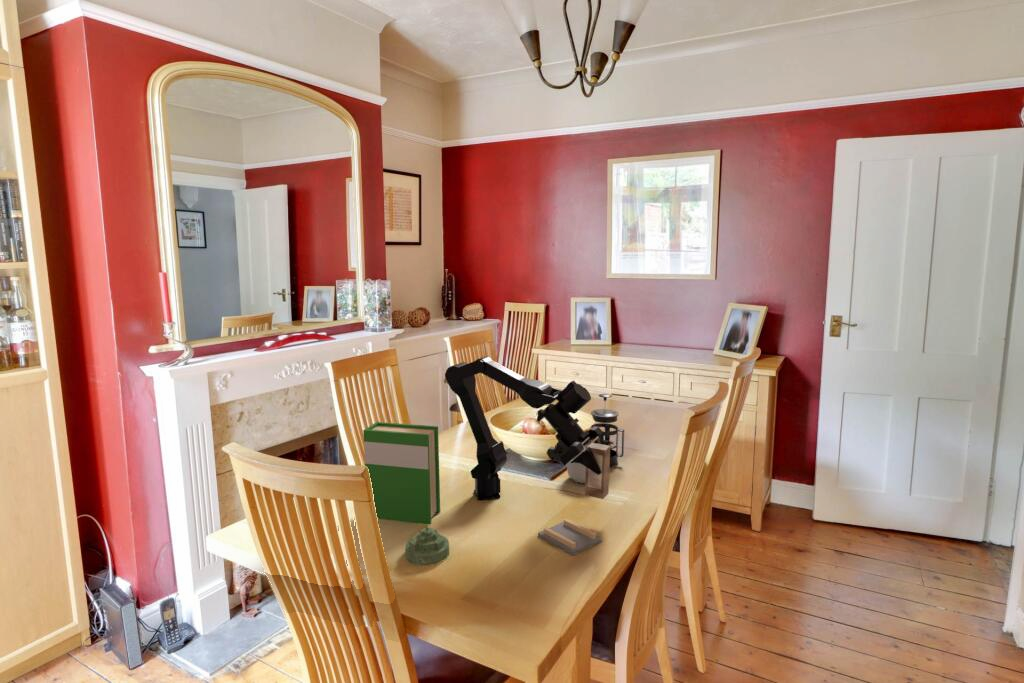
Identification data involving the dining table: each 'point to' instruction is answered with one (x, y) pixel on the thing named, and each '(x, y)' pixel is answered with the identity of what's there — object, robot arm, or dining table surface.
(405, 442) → the hardback book
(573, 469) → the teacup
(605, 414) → the french press
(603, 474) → the wooden block
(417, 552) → the decorative artifact
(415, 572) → the dining table surface
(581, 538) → the grey stand base
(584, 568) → the dining table surface
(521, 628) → the dining table surface
